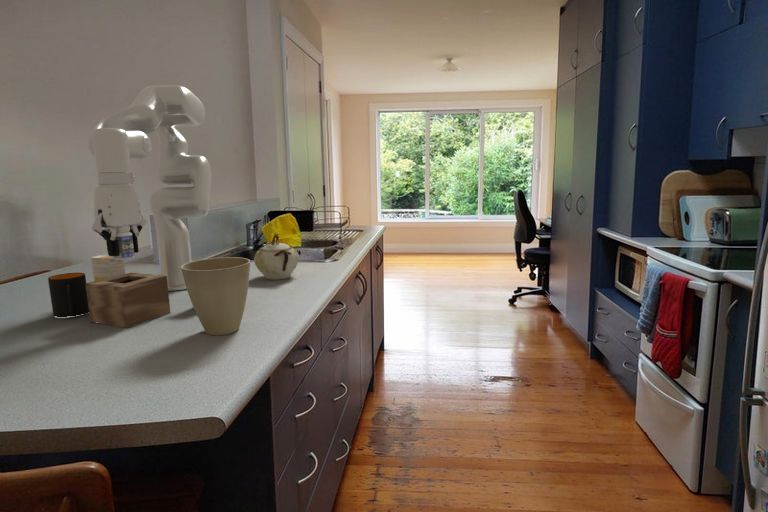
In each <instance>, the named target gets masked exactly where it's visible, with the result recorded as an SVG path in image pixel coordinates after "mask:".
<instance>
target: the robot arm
mask: <svg viewBox="0 0 768 512" xmlns="http://www.w3.org/2000/svg"><path fill="white" fill-rule="evenodd" d="M205 119H206V111H205V106H204V104H203V103H202V101H201V100H200V99H199V98H198V96H196V95H195V93H193V92H192V91H191V90H189V89H188V88H186V87H185V86H182V85H179V84H178V85H177V84H167V85H165V84H164V85H161V84H159V85H158V84H157V85H148V86H146V87H144V88H143V89H141V91H140V92H139V93H138V95H137V96H136V98H135V99H134V100H133V101H132V103H131V104H130V106H129V107H126V108H123V109H122V110H119V111H117V112H115V113H112V114H110V115H108V116H106V117H104V118H102V119H101V120H100V121H99V122H97V123H96V124H95V126H94V128H93V129H92V130H91V132H90V133H89V137H88V139H87V146H88V151H89V152H90V154H91V155H92V157H93V158H94V160H95V161H94V162H95V169H96V179H97V185H98V186H95V187H94V193H93V217H94V222H93V223H92V226H91V230H92V231H94V232H95V233H97V234H98V235H100V236H101V237H102V239H103V240H104V241H105V243H106V249H107V253H108V254H107V255H109V256H119V255H120V254H119V245H118V240H115V238H116V229H117V227H122V226H127V225H129V226H130V231H129V232H131V233H132V237H133V246H134V254H137V253H139V252H140V251H139V250H140V249H139V241H138V237H140V233H141V231H142V229H143V228H144V227H145V225H146V224H147V220H146V219H145V217H143V215H142V210H141V209H142V208H141V205H140V204H141V203H140V200H139V195H138V190H137V188H136V185H134V183H133V182H134V181H135V180H136V177H135V174H133V173H132V165H131V161H138V160H139V161H140V160H143V159H146V158H147V157H148V156H149V155H150V154H151V152H152V141H151V139H150V137H149V136H148V135H149V134H152V133H153V132H155V134H156V136H157V139H158V143H159V145H158V147H159V148H158V149H159V150H158V159H157V178H158V181H159V182H160V183H161V184H162V185H165V186H167V187H161V188H156V189H155V190H153V191H152V192H151V194H150V195H149V199H148V201H149V208H150V210H151V213H152V218H153V221H154V225H155V233H156V242H157V244H156V245H157V252H158V260H159V270H160V271H159V272H157V273H156V275H163V276H167V284H168V292H171V291H184V290H187V288H186V284H185V281H184V277H183V274H182V270H181V266H182V265H184V264H186V263H189V262H192V261H193V260H192V252H191V251H192V250H191V240H190V231H189V229H188V227H187V226H186V224H185V223H184V222H183V221H182V220H181V219H183V218H184V219H185V218H187V219H188V218H189V219H190V218H203V217H205V216H207V215H208V213H209V211H210V203H211V187H212V185H211V183H212V170H211V164H210V162H209V160H208V159H207V158H206V156H203V155H200V154H189V155H188V153H189V152H188V150H189V144H188V141H187V140H186V138H185V137H184V135H182V134H181V133H180V132H179V131H178V129H176V128H175V127H197V126H200V125H202V124H203V123H204V122H205ZM132 174H133V175H132ZM168 186H169V187H168ZM171 186H172V187H171ZM173 186H174V187H173ZM185 186H186V187H185Z"/></svg>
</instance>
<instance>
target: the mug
mask: <svg viewBox="0 0 768 512" xmlns="http://www.w3.org/2000/svg"><path fill="white" fill-rule="evenodd" d="M86 278H87V277H86V273H85V272H68V273H67V272H66V273H61V274H60V273H59V274H55V275H52V276H49V277H47V281H48V287H49V295H50V301H51V308H52V315H54V316H57V317H67V316H76V315H81V314H85V313H88V312H89V306H88V298H87V291H86V284H85V283H87V279H86ZM88 314H89V313H88ZM54 316H53V317H54Z"/></svg>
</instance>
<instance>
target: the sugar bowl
mask: <svg viewBox="0 0 768 512" xmlns="http://www.w3.org/2000/svg"><path fill="white" fill-rule="evenodd" d="M299 260H300V255H299V253H298V251H297V250H296V249H295V248H294V247H293V246H292V245H290V244H289V245H288V244H286V243H281V242H280V240H279V234H278V233H275V234H274V235H273V236H272V240H271V242H267V243H266V244H265V245H264V246H262V247H260V248H259V249H258V250H257V252H256V253H255V254H254V260H253V261H254V265H255V267H256V268H257V269H258V271H259V272H260V273H261V274H262V275H263V277H265V279H266V280H271V281H273V280H274V281H275V280H277V281H278V280H284V279H285V280H286V279H289V278H291V276H292V274H293V272H294V271H295V269H296V267H297V266H298V264H299V262H300V261H299Z"/></svg>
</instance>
